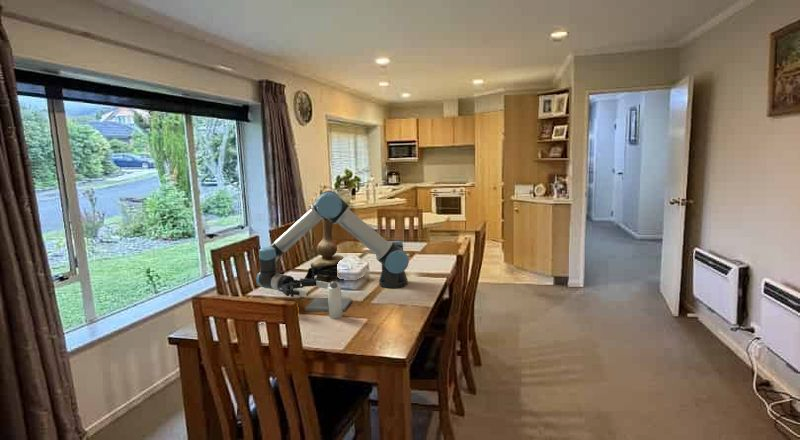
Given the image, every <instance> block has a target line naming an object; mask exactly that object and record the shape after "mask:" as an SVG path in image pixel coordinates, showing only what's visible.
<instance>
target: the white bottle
mask: <svg viewBox="0 0 800 440" xmlns="http://www.w3.org/2000/svg"><path fill="white" fill-rule="evenodd" d="M341 286H342V285H339V284H338V282H337V281H331V282H330V284H329V285H328V287H327V298H328V306H329V311H328V317H330V319H331V318H332V319H333V320H334V319H335V320H337V319H342V317H343V311H342V301H341V298H342V289H341V288H342V287H341Z"/></svg>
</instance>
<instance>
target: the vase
mask: <svg viewBox="0 0 800 440" xmlns="http://www.w3.org/2000/svg"><path fill="white" fill-rule="evenodd" d="M321 220H322V230H323V231H322V232H323V233H322V239H321V240H320V242H319V243H318V245H317V246H316V249H317V253H318V254H319V255H320V256H321V257H318V258H317V259H315V260H313V261H311V263H310V267H309V268H308V269H307V273H306V274H305V276H304V278H303V279H320V278H326V277H329V278H335V277H336V278H337V264H338V262H339V261H340V260H342V259H343V258H344V259H345V257H344V256H343V255H341V254H336V253H337V251H338V246H337V243H336V242H335V241H334V240H333V235H332V234H333V225H334V224H333V223H332V222H331V221H329V220H328V219H327V218H325V219H321Z"/></svg>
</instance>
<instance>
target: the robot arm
mask: <svg viewBox="0 0 800 440" xmlns="http://www.w3.org/2000/svg"><path fill="white" fill-rule="evenodd" d="M318 196H319V197H318V198H317V199H316V200H315V201H314V202H313V203H312V204H311V205H310V209H309V210H307V212H305V213H304V214H303V215H302V216H301V217H299V219H297V221H296V222H294V223H293V224H292V225H291V226H290V227H288V229H287V230H286V231H284V232H283V233H282V234H281V235H280V236H278V238H277V239H275V241H273V243H271V244H270V245H269V246H266V247H262V248H260V249H259V250H258V259H259V260H258V261H259V273H257V275H256V278H255V281H256V284H257V285H258V286H259V287H262V288H264V289H269V290H275V291H278V292H281V293H283V294H284V295H285V296H286V297H290V298H293V297H294V296H297V297H302V298H307V290H304V289H303V288H304V287H306V288H307V287H317V288H321V289H327V287H328V286H329V282H327V281H321V279H320V278H315V279H304V278H299V280H298V279H295V278H294V277H293V276H291V275H287V274H281V273H278V269H277V262H278V259H280V258H281V257H282V256H283V255H284V254H285V253H286V252H287V251H288V250H290V249H291V248H292V246H294V245H295V244H296V243H297V242H298V241H299V240H301V239H302V237H304V236H305V235H306V234H307V233H309V231H310V230H312V229H313V228H314V227H315V226H317V224H319V222H320V221H321V220H322V219H325V218H327V219H328V220H329V221H331V222H332V223H333V225H339V226H340V227H341V228H343V229H344V230H345V231H346V232H348V233H349V234H351V236H353V237H354V238H355V240H358V242H360V243H361V244H362V245H364V246H365V247H366V248H367V249H368V250H370V251H371V252H372V253H373V254H374V255H375V257H376V260H377V261H378V262H379V263H380V264H381V273H380V276H379V280H378V282H379V286H380V287H382V288H386V289H398V288H402V287H406V286H408V283H409V281H408V277H407V273H406V271H405V270H406V269H407V268H408V267H409V263H410V262H409V261H410V260H409V256H408V254H407V252H405V250H404V242H402V241H401V240H398V241H397V240H394V241H393V240H392V241H391V240H390V241H388V240H386V239H385V238H384V237H382V235H381V234H379V233H378V232H377V231H376V230H375V229H373V228H372V227H371V226H369V225H368V224H367V223H366V222H365V221H363V220H362V218H360V217H359V216H358V215H356V214H355V213H354V212H353V211H352V210H351V209H350V205H349V203H347V202H346V201H345V200H343V199H342V198H341V197H340V195H339V194H338V193H336V192H335V191H333V190H326V191H323V192H322V193H321V194H320V195H318ZM405 285H406V286H405Z"/></svg>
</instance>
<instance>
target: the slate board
mask: <svg viewBox="0 0 800 440" xmlns="http://www.w3.org/2000/svg"><path fill="white" fill-rule="evenodd" d="M352 299H353V298H352V297H351V298H349V297H345V298H344V297H343V298H342V297H341V301H342V312H345V311H346V309H347V308H348V307H349V305H350V304H351V302H352ZM304 311H305V312H329V306H328V297H314V299H313V300H312V301H310V303H308V304H307V305H306V306H305V307H304Z"/></svg>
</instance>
